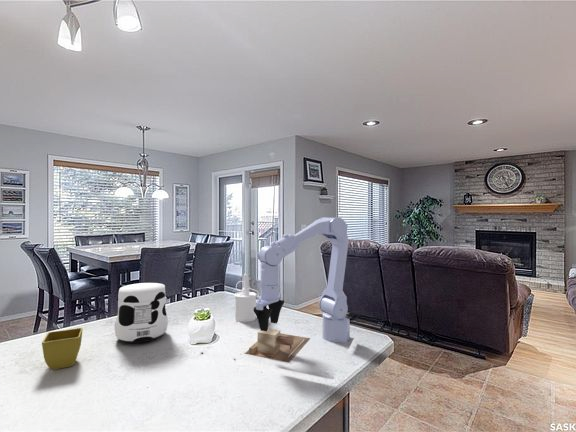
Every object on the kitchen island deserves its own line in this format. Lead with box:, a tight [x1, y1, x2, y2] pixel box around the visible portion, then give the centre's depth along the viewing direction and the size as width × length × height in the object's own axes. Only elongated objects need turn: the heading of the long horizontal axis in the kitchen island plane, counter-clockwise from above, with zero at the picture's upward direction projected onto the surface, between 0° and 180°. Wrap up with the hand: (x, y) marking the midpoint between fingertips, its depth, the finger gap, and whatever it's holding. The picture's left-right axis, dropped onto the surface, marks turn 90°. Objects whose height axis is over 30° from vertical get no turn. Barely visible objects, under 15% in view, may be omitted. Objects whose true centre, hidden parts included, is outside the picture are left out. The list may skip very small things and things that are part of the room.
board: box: [244, 328, 311, 363], centre depth 105 cm, size 15×20×3 cm
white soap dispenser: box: [233, 273, 260, 324], centre depth 132 cm, size 10×9×20 cm
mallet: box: [257, 328, 293, 355], centre depth 100 cm, size 11×4×6 cm, turn 68°
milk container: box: [114, 282, 169, 344], centre depth 114 cm, size 17×17×18 cm
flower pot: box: [41, 327, 84, 371], centre depth 93 cm, size 9×9×9 cm
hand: (269, 326), depth 101 cm, fingers open, 7 cm apart
